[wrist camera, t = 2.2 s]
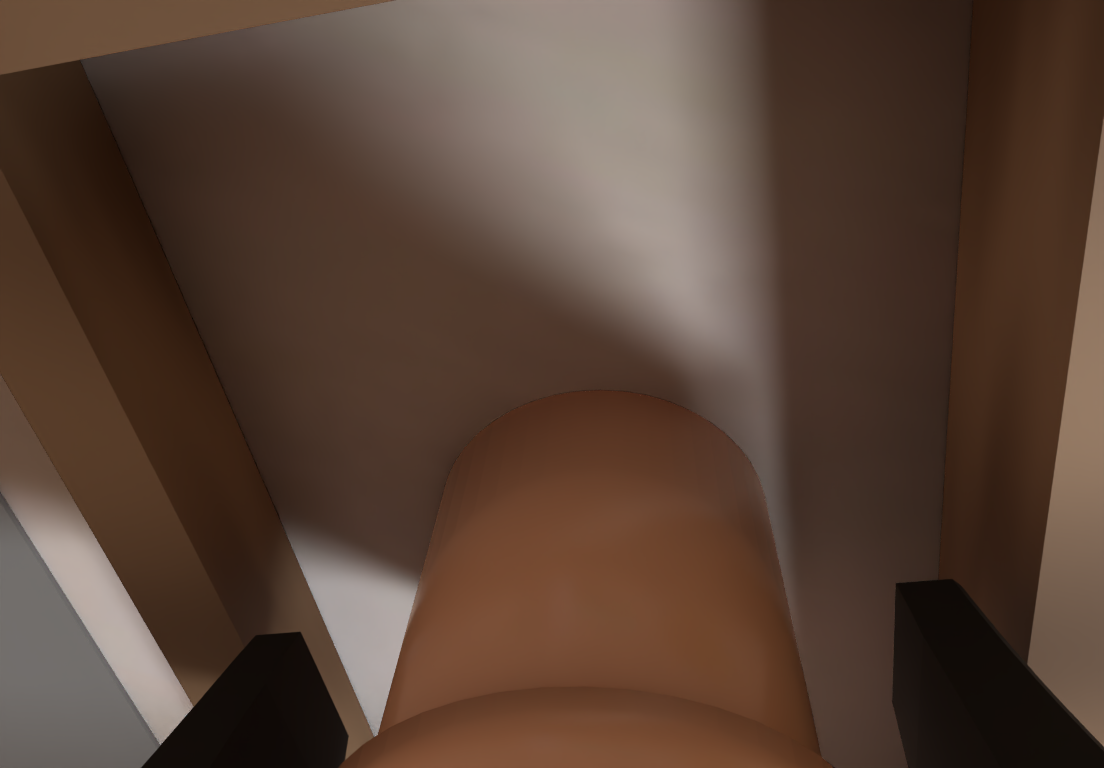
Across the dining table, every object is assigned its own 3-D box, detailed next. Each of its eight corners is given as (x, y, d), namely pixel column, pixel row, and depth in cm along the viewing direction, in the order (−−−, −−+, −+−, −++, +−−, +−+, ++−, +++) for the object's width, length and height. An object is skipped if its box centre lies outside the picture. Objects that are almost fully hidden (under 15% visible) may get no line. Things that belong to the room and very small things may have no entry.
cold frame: (987, 861, 17) (1052, 1045, 14) (381, 882, 19) (343, 1050, 16) (1138, -331, 8) (1399, -413, 5) (-86, -64, 9) (-347, -25, 7)
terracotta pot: (802, 644, 14) (903, 1100, 9) (461, 668, 15) (380, 1098, 10) (787, 339, 11) (925, 754, 6) (368, 390, 12) (187, 792, 7)
